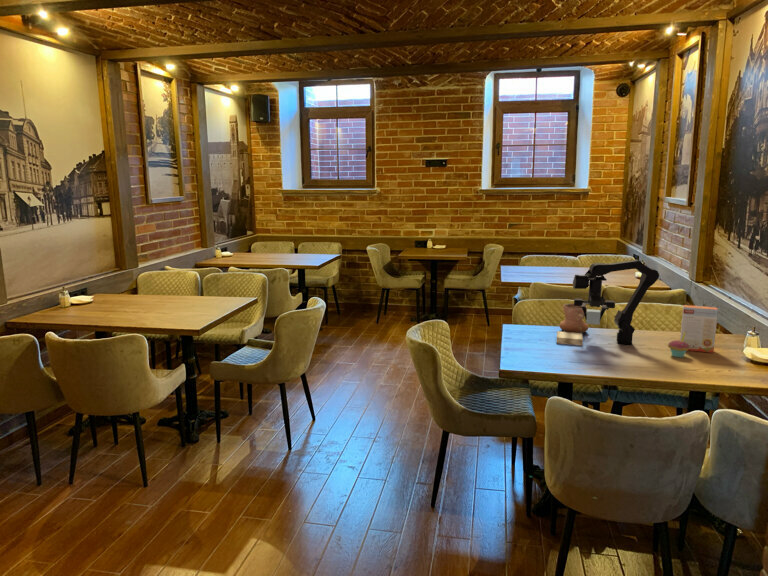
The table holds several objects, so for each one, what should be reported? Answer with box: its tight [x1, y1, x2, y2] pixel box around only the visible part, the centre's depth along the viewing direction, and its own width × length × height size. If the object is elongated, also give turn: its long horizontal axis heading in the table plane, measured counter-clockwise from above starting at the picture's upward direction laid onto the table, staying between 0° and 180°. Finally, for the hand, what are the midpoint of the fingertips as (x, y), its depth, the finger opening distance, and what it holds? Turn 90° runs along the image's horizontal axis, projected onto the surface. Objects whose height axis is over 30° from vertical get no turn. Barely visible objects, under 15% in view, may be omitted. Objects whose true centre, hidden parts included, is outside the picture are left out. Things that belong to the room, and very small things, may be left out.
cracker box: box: [679, 304, 719, 354], centre depth 261 cm, size 14×6×21 cm, turn 65°
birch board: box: [556, 330, 584, 346], centre depth 277 cm, size 12×12×3 cm
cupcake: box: [667, 332, 690, 358], centre depth 253 cm, size 9×8×12 cm
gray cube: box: [585, 308, 601, 326], centre depth 274 cm, size 6×6×6 cm
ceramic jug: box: [559, 303, 589, 334], centre depth 294 cm, size 18×14×14 cm
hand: (592, 320), depth 274 cm, fingers closed on gray cube, 6 cm apart
